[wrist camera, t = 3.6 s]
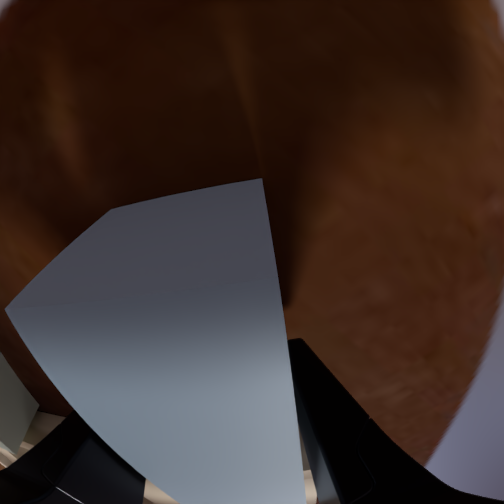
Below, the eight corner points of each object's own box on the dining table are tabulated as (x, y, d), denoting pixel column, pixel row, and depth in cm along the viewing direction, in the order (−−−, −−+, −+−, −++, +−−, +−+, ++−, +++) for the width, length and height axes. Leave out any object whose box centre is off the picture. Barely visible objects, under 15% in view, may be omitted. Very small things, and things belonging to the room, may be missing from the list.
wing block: (295, 406, 11) (306, 505, 7) (199, 414, 11) (188, 509, 7) (261, 178, 7) (278, 277, 3) (111, 209, 7) (4, 308, 3)
